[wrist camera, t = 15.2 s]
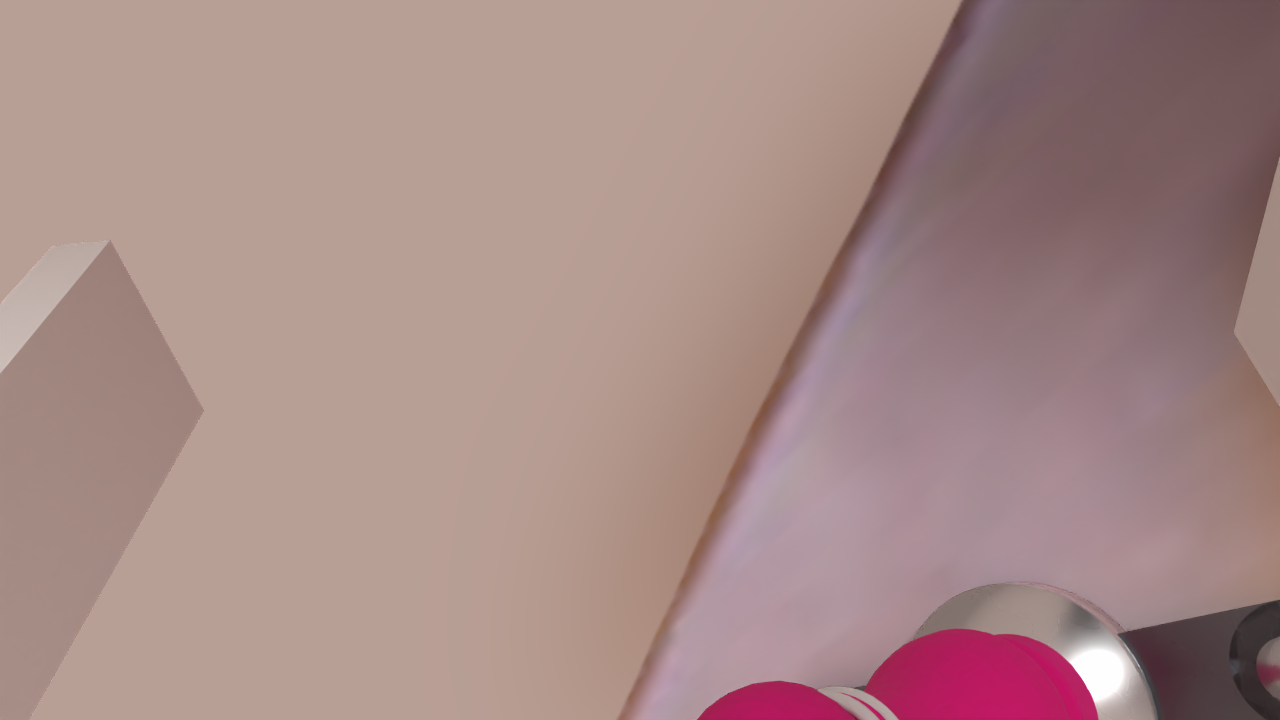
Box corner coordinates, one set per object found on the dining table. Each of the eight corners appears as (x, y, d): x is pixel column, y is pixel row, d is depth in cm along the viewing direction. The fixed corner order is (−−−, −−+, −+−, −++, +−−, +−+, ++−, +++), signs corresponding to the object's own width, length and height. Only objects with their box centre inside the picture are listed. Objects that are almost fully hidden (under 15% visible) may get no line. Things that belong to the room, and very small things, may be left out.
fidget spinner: (816, 868, 47) (787, 880, 46) (764, 644, 50) (736, 648, 49) (1452, 815, 32) (1443, 830, 31) (1321, 502, 36) (1306, 501, 34)
